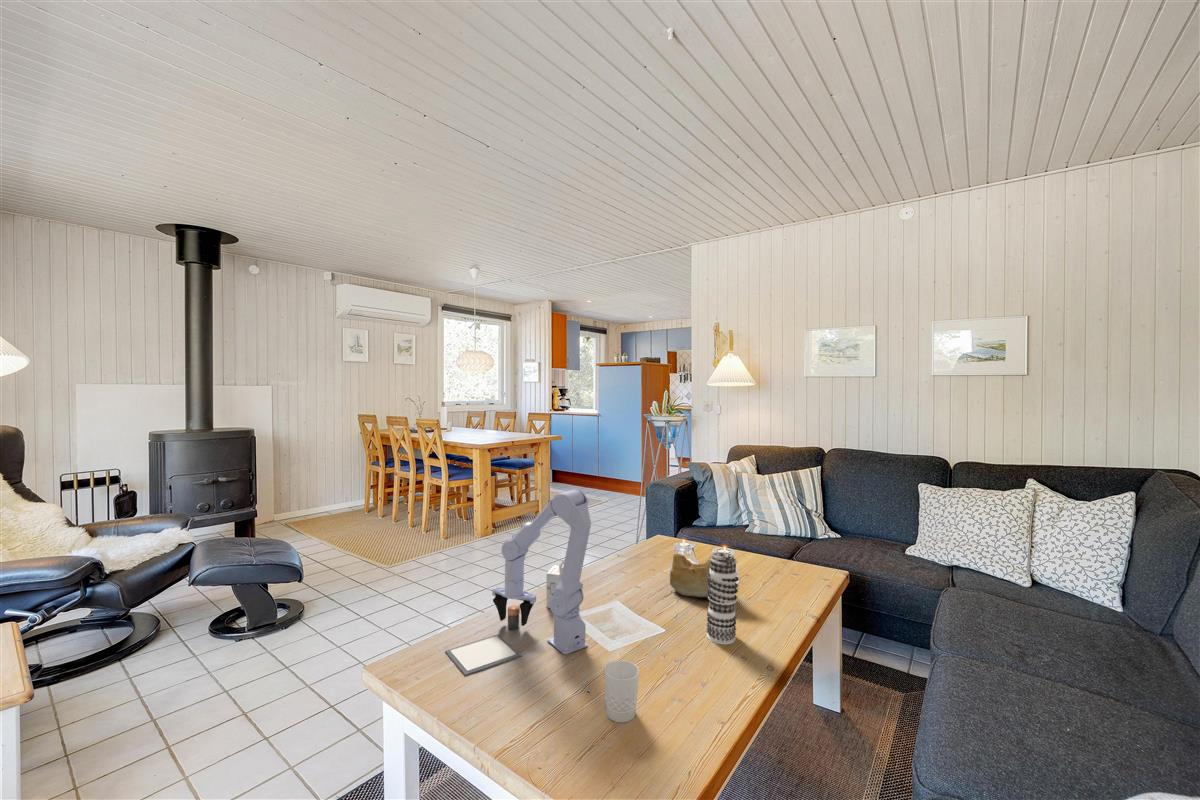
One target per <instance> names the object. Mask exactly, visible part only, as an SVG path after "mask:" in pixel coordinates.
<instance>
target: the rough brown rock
mask: <svg viewBox="0 0 1200 800" xmlns="http://www.w3.org/2000/svg"><path fill="white" fill-rule="evenodd" d="M671 565H672V566H671V569H670V572H669V585H670V586H671V587H672V588H673V589H674V591H675V592H677V594H680V595H682V596H685V597H697V598H708V595H707V594H708V593H707V592H708V589H707V587H708V584H707V583H708V582H707V580H708V577H707V575H708V573H710V559H708V560H706V562H704V563H699V564H697V563H694V562H693V563H692V562H691V560H689V559H687V558H686V557H685V555H683V554H681V553H675V554H673V555H672V563H671ZM709 577H710V576H709ZM709 582H710V581H709Z"/></svg>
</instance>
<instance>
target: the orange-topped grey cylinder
mask: <svg viewBox="0 0 1200 800" xmlns="http://www.w3.org/2000/svg"><path fill="white" fill-rule="evenodd" d="M520 614H521V610H520V606H518V605H510V606H508V607H507V630H510V631H515V630H518V629H519V628H520Z"/></svg>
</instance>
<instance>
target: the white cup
mask: <svg viewBox="0 0 1200 800" xmlns="http://www.w3.org/2000/svg"><path fill="white" fill-rule="evenodd" d="M603 673H604V674H603V675H604V700H605V713H606V716H607V717H608V719H609V720H611V721H613V722H616V723H626V722H627V723H628V722H630V721H632V720H633V719H634V718H635V716H636V713H637V703H638V694H639V693H638V691H639V690H638V689H639V677H640V669H639V667H638V665H636V664H635V663H633V662H630V661H628V660H619V659H618V660H613V661H610V662H608V663H607V664H606V665H605V666H604V672H603Z"/></svg>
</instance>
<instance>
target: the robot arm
mask: <svg viewBox="0 0 1200 800" xmlns="http://www.w3.org/2000/svg"><path fill="white" fill-rule="evenodd" d="M589 501H590V500H589V498H588V497H587V495H586V494H585V492H583V491H582V489H580V488H572V489H571V490H568V491H566V492H563V493H558V494H555V495H554V497H553V498H551V499H550V500H549V501H548V503H547V504H546V505H545V506H544V508H543V509H542V510H541V511H540V512H539V513H538V515H537V516H536V517H535V518H534V519H533V520H532V521H527V522H524V523H522V524H521V525H520V529H519V530H518V531H517V532H516V533H513V534H512V535H511V539H509V540H506V541H504V542H503V543H502V546H501V549H500V550H501V555H502V557H503V558H504V562H505V563H504V587H498V586H495V587H494V588H492V590H491V592H492V593H491V595H492V596H494V598H492V601H493V603H494V605H495V607H496V610H497V612H498V616H499V620H500V621H501V622H502V621H504V620H505V619H506V617H507V604H508V599H509V600H510V599H511V600H518V601H523V602H522V603H520V604H519V607H520V615H521V616H520V622H521V623H520V626H522V627H525V626H526V625H527V624H528V619H529V615H530V612H531V610H532V608H533V606H534V604H535V603H536V602H537V594H536V595H535V594H532V593H530V592H529V591H526V590H524V585H525V579H524V578H525V560H526V555H527V553H528V552H529V549H530V547H531V546H533V544H534V543H535V542H536V541H537V540H538V539H539V538H540V536H541V530H542V529H543V528H544V527H545V526H546V525H547V524H548V523H549V522H550V521H551V520H552V519H554V517H555V516H557V517H559V518H560V519H561V521H563V522H565V524H567V525H568V526H569V528H570V530H569V531H570V532H569V537H568V540H567V547H566V552H565V557H564V559H565V561H564V564H563V565H562V566H563V572H562V577H561V580H560V582H559V584H558V585H557V587H556V589H555V592H554V595H553V596H552V597H551V599H550V602H549V605H550V608H549V609H550V611H551V613H552V614H553V637H550V638H547V640H546V641H547V642H548V643H549V644H550V645H552V647H554V648H555V649H557V650H559V652H561V653H562V654H563V655H568V654H571V653H573V652H576V651H579V650H582V649H584V648H587V647H588V643H586V623H585V622H584V621H583V620H582V618H581V616H580V605H581V604H582V603H583V601H584V592H583V588H584V584H583V582H581V576H582V570H583V566H584V561H585V556H586V551H587V545H588V542H589V535H590V532H591V526H592V521H591V515H590V513H589V507H588V505H589Z"/></svg>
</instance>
